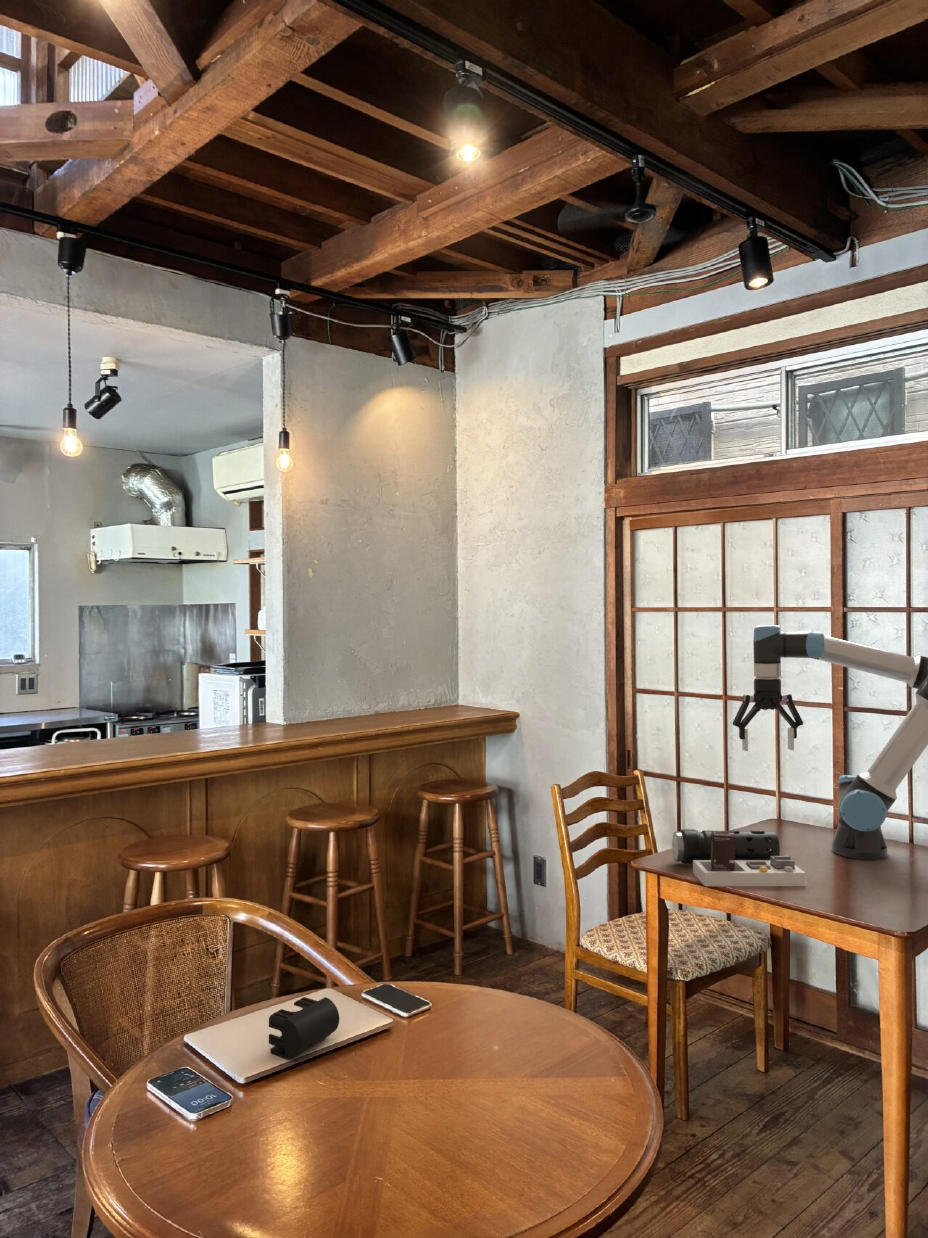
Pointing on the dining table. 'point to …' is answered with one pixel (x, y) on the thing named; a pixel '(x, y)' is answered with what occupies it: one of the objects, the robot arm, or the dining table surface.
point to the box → (722, 851)
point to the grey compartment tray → (748, 875)
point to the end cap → (302, 1026)
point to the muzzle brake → (746, 845)
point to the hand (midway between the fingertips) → (768, 750)
